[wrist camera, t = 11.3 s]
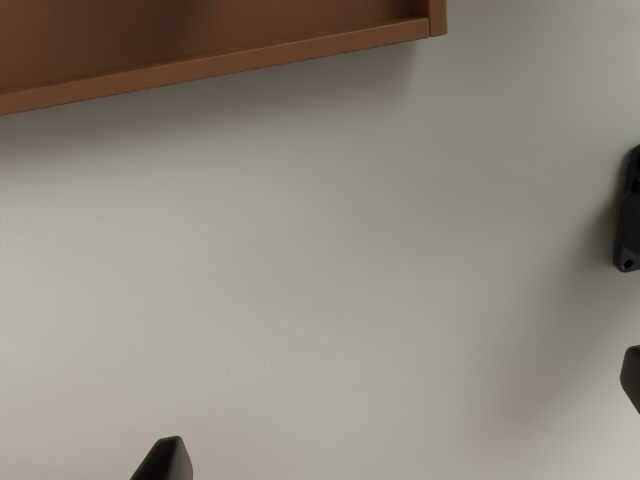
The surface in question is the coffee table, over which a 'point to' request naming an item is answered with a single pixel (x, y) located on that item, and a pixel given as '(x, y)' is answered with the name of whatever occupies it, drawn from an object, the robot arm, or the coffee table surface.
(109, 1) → the tray
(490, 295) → the coffee table surface
